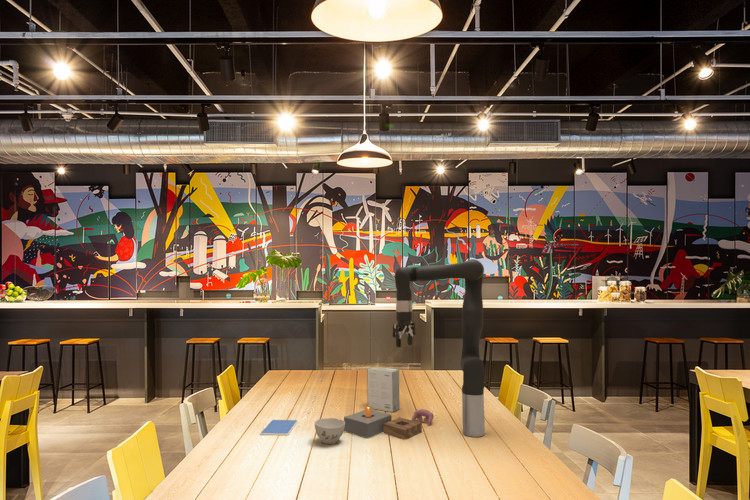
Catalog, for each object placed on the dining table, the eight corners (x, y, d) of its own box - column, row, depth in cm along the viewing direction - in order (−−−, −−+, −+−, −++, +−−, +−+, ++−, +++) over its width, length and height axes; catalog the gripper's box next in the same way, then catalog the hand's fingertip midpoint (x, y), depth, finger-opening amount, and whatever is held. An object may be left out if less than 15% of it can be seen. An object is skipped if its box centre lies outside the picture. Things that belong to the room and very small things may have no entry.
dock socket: (368, 421, 206) (368, 408, 207) (391, 428, 197) (391, 414, 198) (344, 430, 194) (344, 417, 195) (367, 438, 185) (367, 423, 186)
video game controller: (433, 427, 203) (435, 411, 206) (429, 425, 200) (432, 409, 203) (413, 424, 208) (416, 408, 211) (409, 422, 205) (412, 406, 208)
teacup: (341, 448, 174) (341, 427, 175) (310, 446, 176) (310, 426, 177) (348, 435, 189) (348, 416, 190) (320, 433, 191) (320, 414, 192)
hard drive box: (400, 409, 227) (400, 369, 228) (392, 412, 221) (392, 372, 222) (374, 404, 235) (374, 366, 237) (366, 408, 229) (366, 369, 230)
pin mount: (400, 426, 200) (400, 417, 201) (421, 432, 193) (421, 422, 193) (383, 433, 191) (383, 423, 192) (405, 439, 184) (405, 429, 184)
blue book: (272, 422, 209) (272, 419, 209) (298, 422, 208) (298, 419, 208) (259, 436, 189) (259, 433, 189) (288, 437, 189) (288, 433, 189)
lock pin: (367, 428, 198) (367, 405, 199) (372, 429, 196) (372, 406, 197) (363, 429, 196) (363, 406, 196) (368, 431, 194) (368, 408, 194)
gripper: (406, 309, 211) (407, 343, 210) (388, 310, 200) (388, 347, 199) (419, 309, 206) (420, 345, 205) (401, 311, 195) (401, 348, 194)
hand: (404, 346), depth 202 cm, fingers open, 8 cm apart
